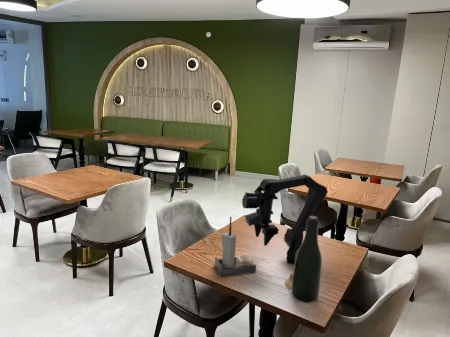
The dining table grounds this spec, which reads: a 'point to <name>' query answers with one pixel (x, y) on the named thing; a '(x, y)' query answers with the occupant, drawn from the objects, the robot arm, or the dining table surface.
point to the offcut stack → (243, 260)
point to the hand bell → (290, 278)
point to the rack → (233, 270)
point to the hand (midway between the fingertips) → (261, 241)
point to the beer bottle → (308, 265)
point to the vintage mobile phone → (228, 249)
